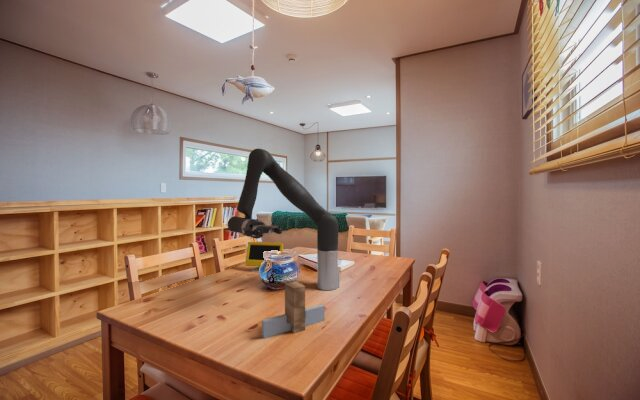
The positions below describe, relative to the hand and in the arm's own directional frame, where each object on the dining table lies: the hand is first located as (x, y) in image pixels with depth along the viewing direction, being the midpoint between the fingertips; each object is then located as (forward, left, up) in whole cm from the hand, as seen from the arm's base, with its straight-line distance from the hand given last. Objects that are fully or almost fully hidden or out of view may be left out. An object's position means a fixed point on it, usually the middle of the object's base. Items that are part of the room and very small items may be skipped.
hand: (270, 232), depth 111 cm
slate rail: (0, +19, -29) cm, 34 cm away
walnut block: (0, +19, -29) cm, 34 cm away
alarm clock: (-20, -50, -29) cm, 61 cm away
